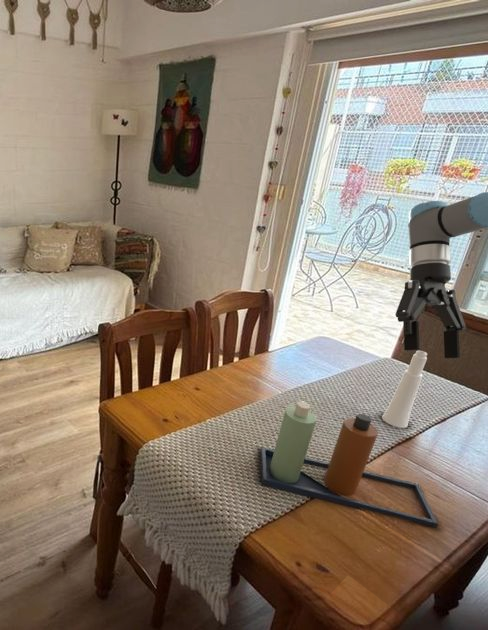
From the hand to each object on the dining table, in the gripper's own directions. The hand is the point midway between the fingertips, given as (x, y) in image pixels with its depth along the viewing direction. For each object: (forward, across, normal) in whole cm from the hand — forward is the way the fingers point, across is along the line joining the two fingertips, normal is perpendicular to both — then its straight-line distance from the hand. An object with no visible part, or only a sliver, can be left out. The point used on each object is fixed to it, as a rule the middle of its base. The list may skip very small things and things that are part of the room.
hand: (432, 354), depth 101 cm
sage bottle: (+30, +30, -12) cm, 45 cm away
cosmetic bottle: (+17, -11, -17) cm, 26 cm away
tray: (+32, +21, -6) cm, 39 cm away
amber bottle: (+32, +21, -6) cm, 39 cm away
